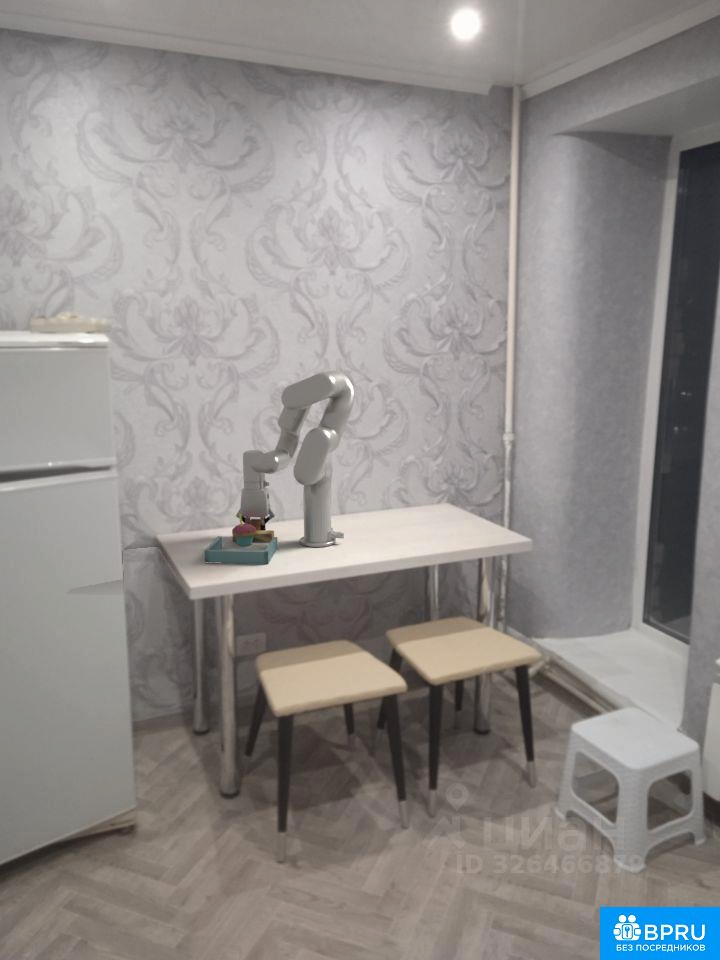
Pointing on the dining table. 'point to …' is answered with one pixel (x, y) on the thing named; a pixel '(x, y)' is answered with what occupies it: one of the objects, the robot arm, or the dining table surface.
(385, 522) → the dining table surface
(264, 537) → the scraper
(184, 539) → the dining table surface
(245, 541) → the cupcake
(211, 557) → the tray
